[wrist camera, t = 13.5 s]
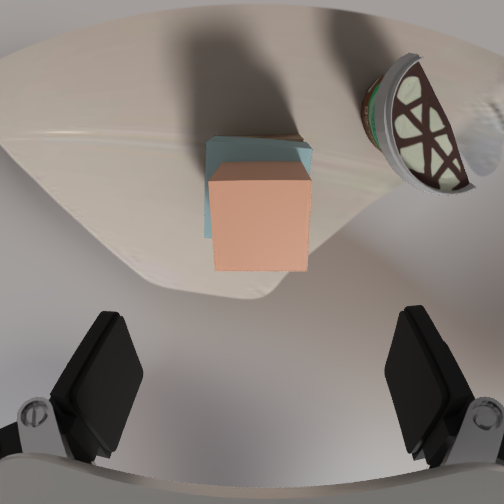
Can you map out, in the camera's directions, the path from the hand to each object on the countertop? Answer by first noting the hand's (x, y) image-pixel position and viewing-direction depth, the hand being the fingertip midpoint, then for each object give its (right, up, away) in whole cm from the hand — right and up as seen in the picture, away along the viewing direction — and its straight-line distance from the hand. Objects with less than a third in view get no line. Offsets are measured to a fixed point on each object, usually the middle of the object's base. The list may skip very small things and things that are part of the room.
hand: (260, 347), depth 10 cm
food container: (+13, +16, +19) cm, 28 cm away
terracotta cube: (+1, +7, +15) cm, 17 cm away
